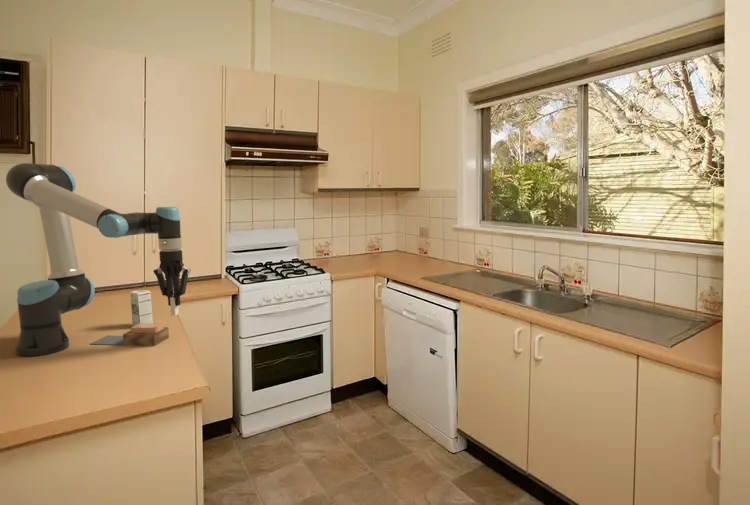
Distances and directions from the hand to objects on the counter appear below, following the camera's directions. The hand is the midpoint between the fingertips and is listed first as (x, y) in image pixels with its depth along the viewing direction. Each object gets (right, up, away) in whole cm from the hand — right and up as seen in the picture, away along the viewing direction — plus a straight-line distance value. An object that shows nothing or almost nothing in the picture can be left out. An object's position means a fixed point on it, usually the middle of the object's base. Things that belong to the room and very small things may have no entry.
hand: (175, 314), depth 170 cm
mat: (-23, -10, +3) cm, 26 cm away
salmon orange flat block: (-11, -6, +2) cm, 13 cm away
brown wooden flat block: (-11, -10, +2) cm, 15 cm away
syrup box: (-23, -8, +23) cm, 34 cm away
